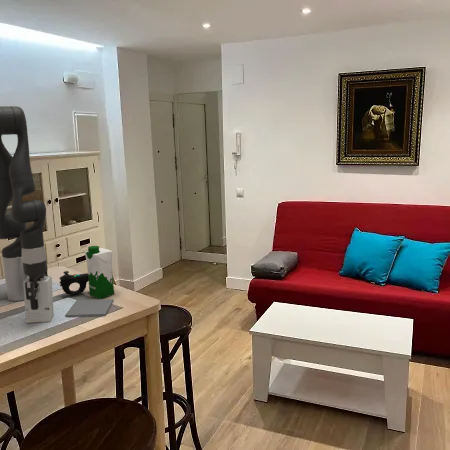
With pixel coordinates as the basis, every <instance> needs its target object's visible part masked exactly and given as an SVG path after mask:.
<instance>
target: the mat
mask: <svg viewBox="0 0 450 450" xmlns="http://www.w3.org/2000/svg"><path fill="white" fill-rule="evenodd" d="M114 301H115V300H114V298H110V299H109V298H102V299H97V298H95V299H76V300H75V302H74V303H73V304H72V305H71V306H70V307H69V309H68V311H67V312H66V313H65V315H64V317H65V318H81V317H82V318H83V317H106V316H107V314H108V313H109V310H110V309H111V307H112V304H113V303H114Z"/></svg>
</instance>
